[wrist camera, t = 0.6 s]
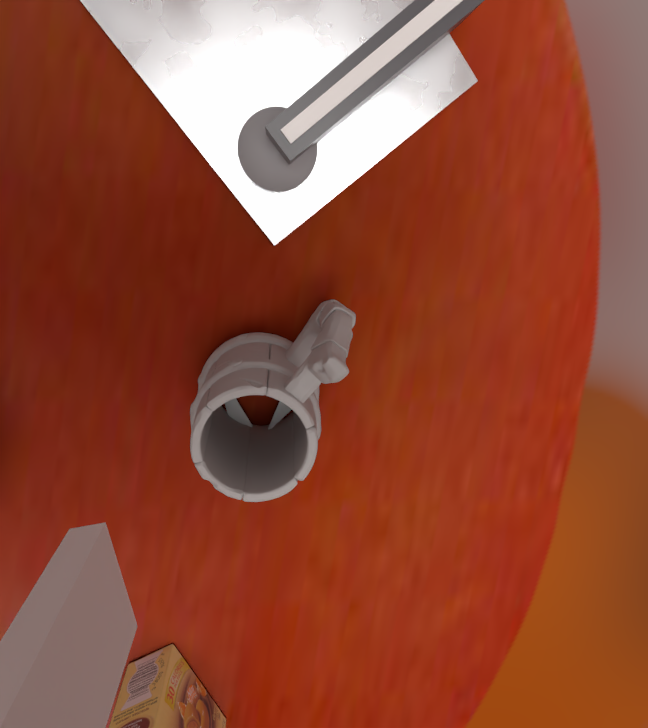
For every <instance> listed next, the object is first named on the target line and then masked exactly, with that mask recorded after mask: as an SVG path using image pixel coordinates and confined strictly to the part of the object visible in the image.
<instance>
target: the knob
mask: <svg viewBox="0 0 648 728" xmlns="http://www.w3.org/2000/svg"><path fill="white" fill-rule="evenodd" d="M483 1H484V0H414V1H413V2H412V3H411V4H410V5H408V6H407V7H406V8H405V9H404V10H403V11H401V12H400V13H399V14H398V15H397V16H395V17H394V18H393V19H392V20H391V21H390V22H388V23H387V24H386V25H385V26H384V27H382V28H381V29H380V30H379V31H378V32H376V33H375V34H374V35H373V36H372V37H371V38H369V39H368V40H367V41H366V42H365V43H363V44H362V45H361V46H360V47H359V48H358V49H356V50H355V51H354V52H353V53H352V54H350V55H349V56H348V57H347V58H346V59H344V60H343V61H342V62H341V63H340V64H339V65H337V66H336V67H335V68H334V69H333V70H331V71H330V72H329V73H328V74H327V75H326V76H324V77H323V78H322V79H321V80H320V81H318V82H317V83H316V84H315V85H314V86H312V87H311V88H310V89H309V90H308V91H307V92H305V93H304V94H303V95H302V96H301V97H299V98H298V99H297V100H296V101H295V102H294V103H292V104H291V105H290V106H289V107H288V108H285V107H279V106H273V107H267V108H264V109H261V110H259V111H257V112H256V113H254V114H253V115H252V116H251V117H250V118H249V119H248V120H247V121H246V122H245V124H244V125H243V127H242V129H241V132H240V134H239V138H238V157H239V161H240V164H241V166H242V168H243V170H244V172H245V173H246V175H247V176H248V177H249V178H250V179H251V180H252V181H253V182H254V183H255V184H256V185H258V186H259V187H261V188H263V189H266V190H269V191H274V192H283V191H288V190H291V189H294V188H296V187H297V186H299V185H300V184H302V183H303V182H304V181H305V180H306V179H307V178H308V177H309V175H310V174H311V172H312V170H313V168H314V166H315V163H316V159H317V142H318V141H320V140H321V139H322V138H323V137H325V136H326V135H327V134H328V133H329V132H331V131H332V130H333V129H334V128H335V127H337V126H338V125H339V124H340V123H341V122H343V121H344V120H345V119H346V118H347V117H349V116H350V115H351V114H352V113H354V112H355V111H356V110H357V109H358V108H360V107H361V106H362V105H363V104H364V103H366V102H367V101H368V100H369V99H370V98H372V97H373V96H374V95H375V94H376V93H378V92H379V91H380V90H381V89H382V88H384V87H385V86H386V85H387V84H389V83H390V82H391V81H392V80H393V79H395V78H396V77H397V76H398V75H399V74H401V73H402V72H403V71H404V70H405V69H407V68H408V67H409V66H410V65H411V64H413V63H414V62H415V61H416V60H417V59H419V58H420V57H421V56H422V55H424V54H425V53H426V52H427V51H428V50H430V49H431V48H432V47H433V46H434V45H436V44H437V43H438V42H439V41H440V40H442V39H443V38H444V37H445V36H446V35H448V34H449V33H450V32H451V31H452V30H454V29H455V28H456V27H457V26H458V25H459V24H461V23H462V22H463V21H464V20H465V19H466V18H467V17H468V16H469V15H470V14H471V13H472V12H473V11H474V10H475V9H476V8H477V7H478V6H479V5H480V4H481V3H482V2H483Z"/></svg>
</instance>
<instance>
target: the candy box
mask: <svg viewBox="0 0 648 728" xmlns="http://www.w3.org/2000/svg"><path fill="white" fill-rule="evenodd" d="M109 728H226V718H225V717H224V716H223V714H222V713H221V711H220V709H219V708H218V706H217V705H216V704H215V702H214V701H213V700H212V698H211V697H210V696H209V694H208V693H207V691H206V690H205V688H204V687H203V685H202V684H201V682H200V681H199V679H198V678H197V677H196V675H195V674H194V673H193V671H192V670H191V668H190V667H189V665H188V664H187V663H186V661H185V660H184V658H183V657H182V656H181V654H180V653H179V652H178V650H177V649H176V647H175V646H174V645H173V644H171V645H168V646H166V647H164V648H162V649H160V650H158V651H156V652H153V653H151V654H149V655H147V656H145V657H143V658H141V659H139V660H137V661H134V662H132V663H130V664H128V667H127V670H126V673H125V677H124V680H123V683H122V686H121V689H120V693H119V696H118V699H117V702H116V706H115V709H114V712H113V716H112V719H111V722H110V725H109Z"/></svg>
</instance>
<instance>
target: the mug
mask: <svg viewBox="0 0 648 728" xmlns="http://www.w3.org/2000/svg"><path fill="white" fill-rule="evenodd" d="M355 321H356V315H355V313H354V312H353V311H351V310H350V309H348V308H347V307H345V306H344V305H343V304H341V303H340V302H338V301H336V300H334V299H332V300H327V301H324V302H322V303H321V304H320V305H319V306H318V308H317V309H316V310H315V312H314V313H313V314H312V315H311V317H310V319H309V320H308V322H307V324H306V325H305V327H304V328H303V330H302V331H301V333H300V334H299V336H298V337H297V338H296V340H295V341H294V343H293V342H291V341H289V340H288V339H286V338H283V337H281V336H278V335H275V334H270V333H262V332H255V333H247V334H241V335H239V336H236V337H234V338H232V339H230V340H228V341H226V342H225V343H223V344H222V345H221V346H219V347H218V348H217V349H216V350H215V351H214V352H213V353H212V354H211V355H210V357H209V358H208V360H207V361H206V363H205V365H204V367H203V369H202V373H201V374H200V375H199V378H198V384H199V385H198V394H197V396H196V398H195V400H194V402H193V403H192V404H191V407H190V420H191V439H190V451H191V456H192V460H193V462H194V463H195V467H196V469H197V470H198V472H199V474H200V475H201V477H202V478H203V479H205V480H209V481H210V482H211V483H212V484H213V486H214V488H215V489H217V490H218V491H220V492H221V493H223V494H225V495H226V496H228V497H231V498H235V499H239V500H241V499H242V497H243V501H246V502H261V501H267V500H272V499H275V498H278V497H280V496H283V495H285V494H287V493H288V492H290V491H291V490H292V489H293V488H294V487H295V486H296V485H297V481H298V480H300V481H303V480H304V479H305V478H306V476H307V475H308V473H309V472H310V470H311V468H312V466H313V464H314V461H315V458H316V454H317V448H318V439H319V438H320V434H321V415H320V409H319V385H320V384H321V383H324V384H328V383H336V382H339V381H340V380H342V379H343V378H345V377H346V376H347V374H348V373H349V370H348V367H347V366H346V358H347V356H348V352H349V346H350V342H351V339H352V337H353V333H352V330H351V329H352V328H353V327H354V325H355ZM248 395H266V396H268V397H271V398H274V399H276V400H278V401H280V402H279V404H278V406H277V409H276V411H275V413H274V416H273V418H272V420H271V423H270V424H269V425H263V426H259V425H252V424H251V422H250V421H249V419H248V418H247V416H246V414H245V413H244V411H243V409H242V408H241V406H240V404H239V403H238V401H237V399H236V398H239V397H242V396H248ZM224 403H225V406H226V410H227V412H226V410H225V409H224V408H223V407H222V405H223V404H224ZM291 410H293V412H292V413H290V414H289V415H288V416H287V417H286V418H285V419H283V420H281V419H282V418H283V417H284V416H286V415H287V414H288V413H289V412H290V411H291ZM280 420H281V421H280Z"/></svg>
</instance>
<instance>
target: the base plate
mask: <svg viewBox="0 0 648 728" xmlns="http://www.w3.org/2000/svg"><path fill="white" fill-rule="evenodd" d="M80 1H81V2H82V4H83V5H84V6H85V7H86V9H87V10H88V11H89V12H90V14H91V15H92V16H93V17H94V19H95V20H96V21H97V22H98V24H99V25H100V26H101V28H102V29H103V30H104V31H105V33H106V34H107V35H108V36H109V38H110V39H111V40H112V41H113V43H114V44H115V45H116V46H117V48H118V49H119V50H120V52H121V53H122V54H123V55H124V57H125V58H126V59H127V60H128V62H129V63H130V64H131V65H132V67H133V68H134V69H135V70H136V72H137V73H138V74H139V75H140V77H141V78H142V79H143V81H144V82H145V83H146V84H147V86H148V87H149V88H150V89H151V91H152V92H153V93H154V94H155V96H156V97H157V98H158V99H159V101H160V102H161V103H162V104H163V106H164V107H165V108H166V110H167V111H168V112H169V113H170V115H171V116H172V117H173V118H174V120H175V121H176V122H177V123H178V125H179V126H180V127H181V128H182V130H183V131H184V132H185V134H186V135H187V136H188V137H189V139H190V140H191V141H192V142H193V144H194V145H195V146H196V147H197V149H198V150H199V151H200V152H201V154H202V155H203V156H204V157H205V159H206V160H207V161H208V163H209V164H210V165H211V166H212V168H213V169H214V170H215V171H216V173H217V174H218V175H219V176H220V178H221V179H222V180H223V181H224V183H225V184H226V185H227V187H228V188H229V189H230V190H231V192H232V193H233V194H234V195H235V197H236V198H237V199H238V200H239V202H240V203H241V204H242V205H243V207H244V208H245V209H246V210H247V212H248V213H249V214H250V216H251V217H252V218H253V219H254V221H255V222H256V223H257V224H258V226H259V227H260V228H261V229H262V231H263V232H264V233H265V234H266V236H267V237H268V238H269V240H270V241H271V242H272V243H273V245H274V246H275V245H276V244H277V243H279V242H280V241H281V240H282V239H284V238H285V237H286V236H287V235H289V234H290V233H291V232H292V231H293V230H295V229H296V228H297V227H298V226H300V225H301V224H302V223H303V222H305V221H306V220H307V219H308V218H309V217H311V216H312V215H313V214H314V213H316V212H317V211H318V210H319V209H321V208H322V207H323V206H324V205H326V204H327V203H328V202H329V201H330V200H332V199H333V198H334V197H335V196H337V195H338V194H339V193H340V192H342V191H343V190H344V189H345V188H346V187H348V186H349V185H350V184H351V183H353V182H354V181H355V180H356V179H358V178H359V177H360V176H361V175H363V174H364V173H365V172H366V171H367V170H369V169H370V168H371V167H372V166H374V165H375V164H376V163H377V162H379V161H380V160H381V159H382V158H383V157H385V156H386V155H387V154H388V153H390V152H391V151H392V150H393V149H395V148H396V147H397V146H398V145H400V144H401V143H402V142H403V141H404V140H406V139H407V138H408V137H409V136H411V135H412V134H413V133H414V132H416V131H417V130H418V129H419V128H420V127H422V126H423V125H424V124H425V123H427V122H428V121H429V120H430V119H432V118H433V117H434V116H435V115H436V114H438V113H439V112H440V111H441V110H443V109H444V108H445V107H446V106H448V105H449V104H450V103H451V102H453V101H454V100H455V99H456V98H457V97H459V96H460V95H461V94H462V93H464V92H465V91H466V90H467V89H469V88H470V87H471V86H472V85H473V84H475V83H476V82H477V81H478V80H477V79H476V77H475V75H474V74H473V72H472V70H471V69H470V67H469V65H468V64H467V62H466V60H465V59H464V57H463V56H462V54H461V52H460V51H459V49H458V47H457V46H456V44H455V42H454V41H453V39H452V37H451V36H450V34H448V35H446V36H445V37H444V38H443V39H442V40H440V41H439V42H438V43H437V44H436V45H434V46H433V47H432V48H431V49H430V50H428V51H427V52H426V53H425V54H424V55H422V56H421V57H420V58H419V59H417V60H416V61H415V62H414V63H413V64H411V65H410V66H409V67H408V68H407V69H405V70H404V71H403V72H402V73H401V74H399V75H398V76H397V77H396V78H395V79H393V80H392V81H391V82H390V83H389V84H387V85H386V86H385V87H384V88H382V89H381V90H380V91H379V92H378V93H376V94H375V95H374V96H373V97H372V98H370V99H369V100H368V101H367V102H366V103H364V104H363V105H362V106H361V107H360V108H358V109H357V110H356V111H355V112H354V113H352V114H351V115H350V116H349V117H347V118H346V119H345V120H344V121H343V122H341V123H340V124H339V125H338V126H337V127H335V128H334V129H333V130H332V131H331V132H329V133H328V134H327V135H326V136H325V137H323V138H322V139H321V140H320V141H318V142H317V159H316V163H315V166H314V168H313V170H312V172H311V174H310V175H309V177H308V178H307V179H306V180H305V181H304V182H303V183H302V184H300V185H299V186H297V187H296V188H294V189H291V190H288V191H283V192H274V191H269V190H266V189H263V188H261V187H259V186H258V185H256V184H255V183H254V182H253V181H252V180H251V179H250V178H249V177H248V176H247V175H246V173H245V172H244V170H243V168H242V166H241V164H240V161H239V157H238V138H239V134H240V132H241V129H242V127H243V125H244V124H245V122H246V121H247V120H248V119H249V118H250V117H251V116H252V115H253V114H254V113H256V112H257V111H259V110H261V109H264V108H267V107H273V106H279V107H285V108H288V107H289V106H290V105H291V104H292V103H294V102H295V101H296V100H297V99H298V98H299V97H301V96H302V95H303V94H304V93H305V92H307V91H308V90H309V89H310V88H311V87H312V86H314V85H315V84H316V83H317V82H318V81H320V80H321V79H322V78H323V77H324V76H326V75H327V74H328V73H329V72H330V71H331V70H333V69H334V68H335V67H336V66H337V65H339V64H340V63H341V62H342V61H343V60H344V59H346V58H347V57H348V56H349V55H350V54H352V53H353V52H354V51H355V50H356V49H358V48H359V47H360V46H361V45H362V44H363V43H365V42H366V41H367V40H368V39H369V38H371V37H372V36H373V35H374V34H375V33H376V32H378V31H379V30H380V29H381V28H382V27H384V26H385V25H386V24H387V23H388V22H390V21H391V20H392V19H393V18H394V17H395V16H397V15H398V14H399V13H400V12H401V11H403V10H404V9H405V8H406V7H407V6H408V5H410V4H411V3H412V2H413V1H414V0H80Z"/></svg>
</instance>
